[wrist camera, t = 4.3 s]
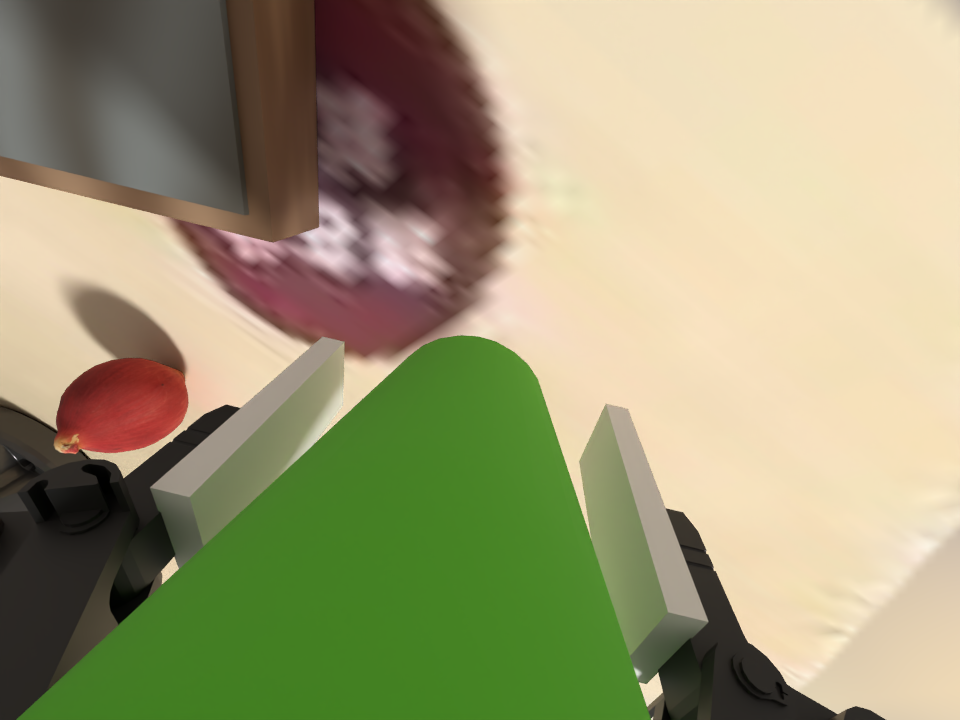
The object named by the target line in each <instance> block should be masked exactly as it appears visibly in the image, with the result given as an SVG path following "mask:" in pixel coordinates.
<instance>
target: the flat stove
mask: <svg viewBox="0 0 960 720" xmlns="http://www.w3.org/2000/svg"><path fill="white" fill-rule="evenodd" d="M0 176H3V177H8V178H12V179H16V180H20V181H24V182H28V183H32V184H36V185H40V186H44V187H48V188H52V189H57V190H61V191H65V192H69V193H73V194H77V195H81V196H85V197H89V198H93V199H97V200H101V201H105V202H110V203H114V204H118V205H122V206H126V207H130V208H134V209H138V210H142V211H146V212H150V213H154V214H159V215H163V216H167V217H171V218H175V219H179V220H183V221H187V222H191V223H195V224H199V225H203V226H208V227H212V228H216V229H220V230H224V231H228V232H232V233H236V234H240V235H244V236H248V237H252V238H257V239H261V240H265V241H269V242H276V241H279V240H282V239H285V238H288V237H291V236H294V235H297V234H300V233H303V232H306V231H309V230H312V229H315V228H318V227H319V202H318V155H317V107H316V59H315V11H314V0H0Z"/></svg>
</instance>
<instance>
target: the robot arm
mask: <svg viewBox="0 0 960 720" xmlns="http://www.w3.org/2000/svg"><path fill="white" fill-rule="evenodd" d="M343 389H344V342H343V341H339V340H334V339H330V338H326V337H322V338H321V339H320V340H318V341H317V342H316V343H315V344H314V345H313V346H311V347H310V348H309V349H308V350H307V351H306V352H305V353H303V354H302V355H301V356H300V357H299V358H298V359H297V360H295V361H294V362H293V363H292V364H291V365H290V366H289V367H287V368H286V369H285V370H284V371H283V372H282V373H281V374H279V375H278V376H277V377H276V378H275V379H274V380H273V381H271V382H270V383H269V384H268V385H267V386H266V387H265V388H263V389H262V390H261V391H260V392H259V393H258V394H257V395H255V396H254V397H253V398H252V399H251V400H250V401H249V402H247V403H246V404H245V405H244V406H243V407H242V408H238V407H234V406H229V405H224V406H222V407H220V408H218V409H215V410H213V411H211V412H209V413H206V414H204V415H203V416H202V417H200V418H199V419H198V420H197V421H195V422H194V423H193V424H192V425H190V426H189V427H188V429H187V430H186V431H185V430H184V431H183V432H182V433H180V434H179V435H178V436H177V437H175V438H174V439H173V442H169V443H168V444H166V445H165V446H164V447H163V448H161V449H160V450H159V451H158V452H156V453H155V454H154V455H153V456H151V457H150V458H149V459H148V460H146V461H145V462H144V463H143V464H141V465H140V466H139V467H138V468H136V469H135V470H134V471H133V472H131V473H130V474H129V475H127V476H126V477H125V478H124V479H123V476H122V474H121V471H120V470H119V468H118V467H117V465H116V464H114V463H112V462H109V461H106V460H97V459H87V458H86V457H85V456H84V455H82V454H81V453H80V452H77V453H76V454H74V453H61V452H59V451H58V450H56V449H55V447H54V439H55V437H56V435H57V434H56V433H55V432H53V431H52V430H50V429H48V428H47V427H45V426H44V425H42V424H40V423H38V422H36V421H35V420H33V419H31V418H29V417H27V416H24V415H22V414H20V413H18V412H15V411H12V410H10V409H7V408H4V407H1V406H0V720H16V719H17V718H19V717H20V716H21V715H22V714H23V713H24V712H25V711H26V710H27V709H28V708H29V707H30V706H32V705H33V704H34V703H35V702H36V701H37V700H38V699H39V698H40V697H41V696H42V695H43V694H45V693H46V692H47V691H48V690H49V689H50V688H51V687H52V686H53V685H54V684H55V683H56V682H58V681H59V680H60V679H61V678H62V677H63V676H64V675H65V674H66V673H67V672H68V671H69V670H70V669H72V668H73V667H74V666H75V665H76V664H77V663H78V662H79V661H80V660H81V659H82V658H83V657H85V656H86V655H87V654H88V653H89V652H90V651H91V650H92V649H93V648H94V647H95V646H96V645H98V644H99V643H100V642H101V641H102V640H103V639H104V638H105V637H106V636H107V635H108V634H109V633H110V632H112V631H113V630H114V629H115V628H116V627H117V626H118V625H119V624H120V623H121V622H122V621H123V620H125V619H126V618H127V617H128V616H129V615H130V614H131V613H132V612H133V611H134V610H135V609H136V608H138V607H139V606H140V605H141V604H142V603H143V602H144V601H145V600H146V599H147V598H148V597H149V596H151V595H152V594H153V593H154V592H155V591H156V590H157V589H158V588H159V587H160V586H161V584H162V573H161V571H162V569H163V568H164V567H165V566H166V565H167V564H168V563H169V562H170V560H171V559H172V558H173V557H174V556H175V559H176V562H177V565H178V568H179V569H180V568H181V567H182V566H183V565H184V564H185V563H186V562H187V561H188V560H189V559H191V558H192V557H193V556H194V555H195V554H196V553H197V552H198V551H199V550H200V549H201V548H202V547H204V546H205V545H206V544H207V543H208V542H209V541H210V540H211V539H212V538H213V537H214V536H215V535H216V534H218V533H219V532H220V531H221V530H222V529H223V528H224V527H225V526H226V525H227V524H228V523H229V522H231V521H232V520H233V519H234V518H235V517H236V516H237V515H238V514H239V513H240V512H241V511H242V510H244V509H245V508H246V507H247V506H248V505H249V504H250V503H251V502H252V501H253V500H254V499H255V498H256V497H258V496H259V495H260V494H261V493H262V492H263V491H264V490H265V489H266V488H267V487H268V486H269V485H271V484H272V483H273V482H274V481H275V480H276V479H277V478H278V477H279V476H280V475H281V474H282V473H284V472H285V471H286V470H287V469H288V468H289V467H290V466H291V465H292V464H293V463H294V462H295V461H297V460H298V459H299V458H300V457H301V456H302V455H303V454H304V453H305V452H306V451H307V450H308V449H309V448H311V447H312V446H313V445H314V444H315V442H316V441H317V440H318V438H319V437H320V436H321V434H322V433H323V432H324V430H325V429H326V428H327V426H328V425H329V424H330V422H331V421H332V420H333V418H334V417H335V416H336V414H337V413H338V412H339V410H340V409H341V408H342V406H343ZM579 463H580V469H581V476H582V482H583V489H584V495H585V501H586V508H587V514H588V521H589V527H590V534H591V540H592V544H593V547H594V550H595V553H596V556H597V559H598V562H599V565H600V568H601V571H602V574H603V577H604V580H605V583H606V586H607V589H608V592H609V595H610V598H611V601H612V604H613V607H614V610H615V613H616V616H617V619H618V622H619V625H620V628H621V631H622V634H623V637H624V640H625V643H626V646H627V649H628V652H629V655H630V658H631V661H632V664H633V667H634V670H635V673H636V676H637V679H638V682H640V683H644V684H647V683H648V682H649V681H650V680H651V679H652V678H653V677H654V676H655V675H656V674H657V673H659V677H660V681H661V685H662V689H663V693H662V694H661V695H660V696H659V697H658V698H657V699H655V700H654V701H653V702H652V703H651V704H650V705H649V706H648V707H647V709H648V712H649V715H650V718H652V717H653V716H654V717H653V720H885V719H884V718H882V717H880V716H879V715H877V714H875V713H874V712H872V711H871V710H867V709H864V708H860V707H857V706H855V707H852V708H850V709H847V710H845V711H843V712H841V713H840V714H836V713H834V712H833V711H831V710H829V709H827V708H826V707H824V706H822V705H820V704H819V703H817V702H815V701H813V700H812V699H810V698H808V697H807V696H805V695H803V694H801V693H800V692H798V691H796V690H794V689H793V688H791V687H790V686H788V685H787V684H786V682H785V680H784V679H783V677H782V675H781V673H780V672H779V671H778V669H777V668H776V667H775V666H774V665H773V664H772V662H771V661H770V660H769V659H768V658H767V657H766V656H765V655H764V654H763V653H762V652H760V651H759V650H758V649H757V648H755V647H754V646H753V645H751V644H749V643H748V642H747V640H746V638H745V636H744V634H743V632H742V630H741V628H740V625H739V623H738V621H737V619H736V616H735V614H734V612H733V610H732V607H731V605H730V603H729V600H728V598H727V596H726V594H725V591H724V589H723V587H722V585H721V582H720V580H719V578H718V576H717V573H716V571H714V570H713V568H714V567H713V564H712V562H711V560H710V558H709V555H708V554H706V548H705V546H704V544H703V542H702V539H701V537H700V535H699V533H698V531H697V529H696V528H695V527H694V526H693V524H692V523H691V522H690V521H689V519H688V518H687V517H686V516H685V514H684V513H683V512H679V511H674V510H670V509H666V508H665V506H664V503H663V500H662V498H661V495H660V492H659V490H658V487H657V485H656V482H655V479H654V477H653V474H652V471H651V469H650V466H649V463H648V461H647V458H646V456H645V453H644V450H643V448H642V445H641V442H640V440H639V437H638V434H637V432H636V429H635V427H634V424H633V421H632V419H631V416H630V413H629V411H628V409H626V408H622V407H617V406H613V405H609V404H606V405H605V407H604V409H603V411H602V413H601V415H600V418H599V420H598V422H597V424H596V426H595V428H594V431H593V433H592V435H591V437H590V439H589V441H588V444H587V446H586V448H585V450H584V452H583V454H582V457H581V459H580V461H579Z"/></svg>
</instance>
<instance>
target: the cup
mask: <svg viewBox="0 0 960 720" xmlns="http://www.w3.org/2000/svg"><path fill="white" fill-rule="evenodd" d="M16 720H651V718H650V715H649V712H648V709H647V706H646V703H645V700H644V697H643V694H642V691H641V688H640V685H639V682H638V679H637V676H636V673H635V670H634V667H633V664H632V661H631V658H630V655H629V652H628V649H627V646H626V643H625V640H624V637H623V634H622V631H621V628H620V625H619V622H618V619H617V616H616V613H615V610H614V607H613V604H612V601H611V598H610V595H609V592H608V589H607V586H606V583H605V580H604V577H603V574H602V571H601V568H600V565H599V562H598V559H597V556H596V553H595V550H594V547H593V544H592V541H591V538H590V535H589V532H588V529H587V526H586V523H585V520H584V517H583V514H582V511H581V508H580V505H579V502H578V499H577V496H576V493H575V490H574V487H573V484H572V481H571V478H570V475H569V472H568V469H567V466H566V463H565V460H564V457H563V454H562V451H561V448H560V445H559V442H558V439H557V436H556V433H555V430H554V427H553V424H552V421H551V418H550V415H549V412H548V409H547V406H546V403H545V400H544V397H543V394H542V391H541V388H540V385H539V382H538V379H537V378H536V376H535V374H534V373H533V371H532V370H531V368H530V367H529V365H528V364H527V363H526V362H524V361H523V360H522V359H521V358H520V357H519V356H518V355H517V354H516V353H515V352H513V351H511V350H510V349H508V348H506V347H504V346H503V345H501V344H499V343H497V342H495V341H492V340H488V339H485V338H482V337H476V336H453V337H447V338H440V339H437V340H435V341H433V342H430V343H428V344H425V345H423V346H422V347H420V348H419V349H418V350H417V351H415V352H414V353H413V354H411V355H410V356H409V357H408V358H407V359H406V360H405V361H404V362H402V363H401V364H400V365H399V366H398V367H397V368H396V369H395V370H394V371H393V372H392V373H391V374H390V375H388V376H387V377H386V378H385V379H384V380H383V381H382V382H381V383H380V384H379V385H378V386H377V387H375V388H374V389H373V390H372V391H371V392H370V393H369V394H368V395H367V396H366V397H365V398H364V399H362V400H361V401H360V402H359V403H358V404H357V405H356V406H355V407H354V408H353V409H352V410H351V411H350V412H348V413H347V414H346V415H345V416H344V417H343V418H342V419H341V420H340V421H339V422H338V423H337V424H335V425H334V426H333V427H332V428H331V429H330V430H329V431H328V432H327V433H326V434H325V435H324V436H322V437H321V438H320V439H319V440H318V441H317V442H316V443H315V444H314V445H313V446H312V447H311V448H309V449H308V450H307V451H306V452H305V453H304V454H303V455H302V456H301V457H300V458H299V459H298V460H297V461H295V462H294V463H293V464H292V465H291V466H290V467H289V468H288V469H287V470H286V471H285V472H284V473H282V474H281V475H280V476H279V477H278V478H277V479H276V480H275V481H274V482H273V483H272V484H271V485H269V486H268V487H267V488H266V489H265V490H264V491H263V492H262V493H261V494H260V495H259V496H258V497H256V498H255V499H254V500H253V501H252V502H251V503H250V504H249V505H248V506H247V507H246V508H245V509H244V510H242V511H241V512H240V513H239V514H238V515H237V516H236V517H235V518H234V519H233V520H232V521H231V522H229V523H228V524H227V525H226V526H225V527H224V528H223V529H222V530H221V531H220V532H219V533H218V534H216V535H215V536H214V537H213V538H212V539H211V540H210V541H209V542H208V543H207V544H206V545H205V546H204V547H202V548H201V549H200V550H199V551H198V552H197V553H196V554H195V555H194V556H193V557H192V558H191V559H189V560H188V561H187V562H186V563H185V564H184V565H183V566H182V567H181V568H180V569H179V570H178V571H176V572H175V573H174V574H173V575H172V576H171V577H170V578H169V579H168V580H167V581H166V582H165V583H163V584H162V585H161V586H160V587H159V588H158V589H157V590H156V591H155V592H154V593H153V594H152V595H151V596H149V597H148V598H147V599H146V600H145V601H144V602H143V603H142V604H141V605H140V606H139V607H138V608H136V609H135V610H134V611H133V612H132V613H131V614H130V615H129V616H128V617H127V618H126V619H125V620H123V621H122V622H121V623H120V624H119V625H118V626H117V627H116V628H115V629H114V630H113V631H112V632H110V633H109V634H108V635H107V636H106V637H105V638H104V639H103V640H102V641H101V642H100V643H99V644H98V645H96V646H95V647H94V648H93V649H92V650H91V651H90V652H89V653H88V654H87V655H86V656H85V657H83V658H82V659H81V660H80V661H79V662H78V663H77V664H76V665H75V666H74V667H73V668H72V669H70V670H69V671H68V672H67V673H66V674H65V675H64V676H63V677H62V678H61V679H60V680H59V681H58V682H56V683H55V684H54V685H53V686H52V687H51V688H50V689H49V690H48V691H47V692H46V693H45V694H43V695H42V696H41V697H40V698H39V699H38V700H37V701H36V702H35V703H34V704H33V705H32V706H30V707H29V708H28V709H27V710H26V711H25V712H24V713H23V714H22V715H21V716H20V717H19V718H17V719H16Z"/></svg>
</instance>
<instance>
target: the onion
mask: <svg viewBox="0 0 960 720" xmlns="http://www.w3.org/2000/svg"><path fill="white" fill-rule="evenodd" d="M187 408H188V393H187V389H186V385H185V377H184V375H183V373H182V372H180V371H179V370H177V369H174V368H171V367H168V366H166V365H163V364H161V363H158V362H155V361H151V360H147V359H142V358H124V359H117V360H111V361H108V362H105V363H102V364H99V365H96V366H94V367H92V368H91V369H89V370H88V371H86V372H84V373H83V374H82V375H80V376H79V377H78V378H77V379H75V380H74V381H73V382H72V383H71V384H70V386H69V387H68V388H67V389H66V390H65V392H64V393H63V395H62V396H61V400H60V405H59V408H58V411H57V417H56V425H57V429H58V433H57V435H56V437H55V439H54V447H55V449H56V450H58V451H59V452H61V453H74V454H76V453H77V452H79V450H80V449H85V450H89V451H95V452H104V453H118V452H125V451H131V450H136V449H140V448H144V447H147V446H149V445H151V444H154V443H156V442H158V441H159V440H161V439H162V438H164V437H166V436H167V435H168V434H170V433H171V432H172V431H174V430H175V429H176V428H177V427H178V426H179V425H180V424H181V422H182V421H183V419H184V416H185V414H186V412H187Z"/></svg>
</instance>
